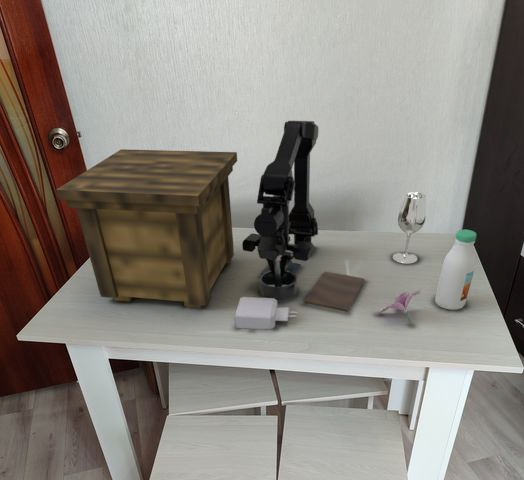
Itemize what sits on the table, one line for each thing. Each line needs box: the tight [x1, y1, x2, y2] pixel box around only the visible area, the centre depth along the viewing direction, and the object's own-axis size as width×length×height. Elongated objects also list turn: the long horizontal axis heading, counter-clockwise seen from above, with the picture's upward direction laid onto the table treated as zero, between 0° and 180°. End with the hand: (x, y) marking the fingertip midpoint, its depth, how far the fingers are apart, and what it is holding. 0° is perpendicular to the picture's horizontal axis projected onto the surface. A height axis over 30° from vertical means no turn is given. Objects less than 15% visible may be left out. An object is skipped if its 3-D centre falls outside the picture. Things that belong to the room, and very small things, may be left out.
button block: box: [260, 260, 301, 276], centre depth 142 cm, size 10×9×3 cm
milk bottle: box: [434, 229, 477, 311], centre depth 120 cm, size 8×8×20 cm
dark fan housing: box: [259, 271, 298, 301], centre depth 132 cm, size 10×10×4 cm
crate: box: [55, 148, 238, 309], centre depth 130 cm, size 35×35×33 cm
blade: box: [269, 256, 287, 287], centre depth 130 cm, size 7×7×10 cm
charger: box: [234, 296, 298, 330], centre depth 120 cm, size 5×9×15 cm
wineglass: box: [392, 191, 427, 265], centre depth 141 cm, size 8×8×20 cm
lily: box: [377, 288, 422, 326], centre depth 119 cm, size 12×12×10 cm
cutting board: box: [303, 271, 366, 313], centre depth 132 cm, size 18×12×1 cm, turn 156°
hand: (278, 275), depth 130 cm, fingers closed on blade, 2 cm apart
